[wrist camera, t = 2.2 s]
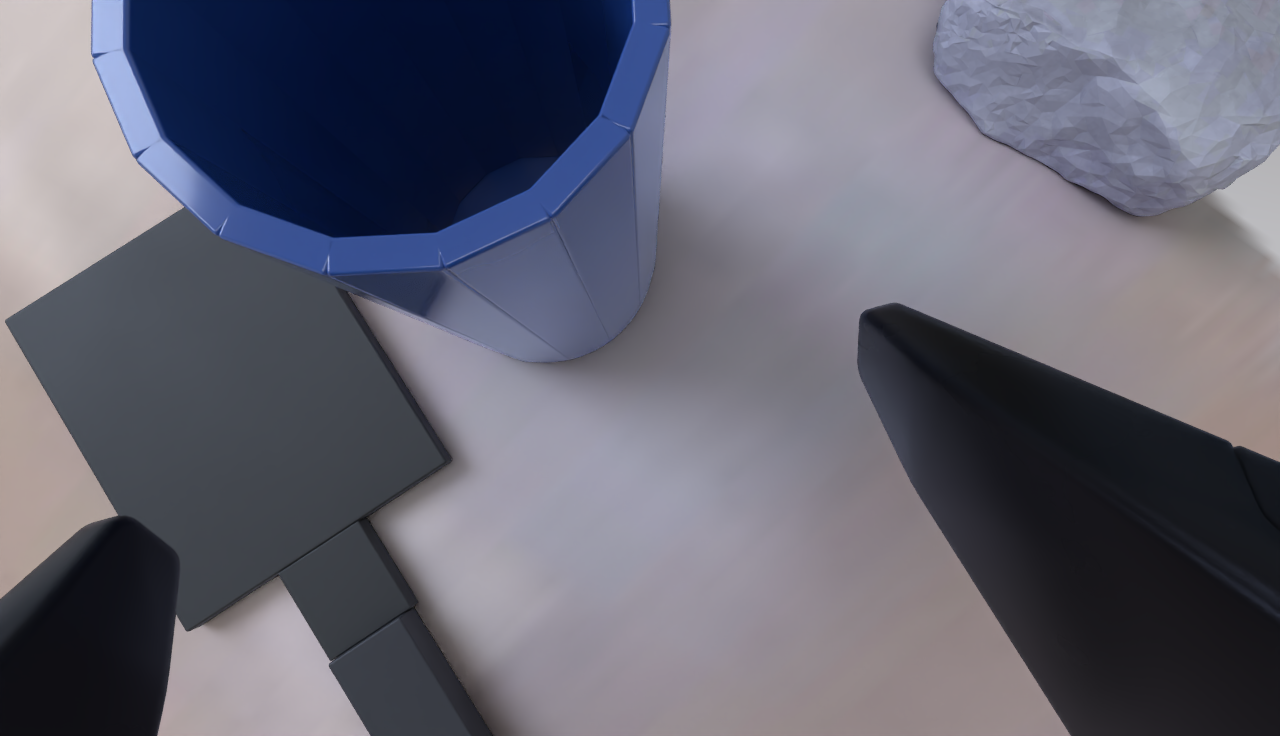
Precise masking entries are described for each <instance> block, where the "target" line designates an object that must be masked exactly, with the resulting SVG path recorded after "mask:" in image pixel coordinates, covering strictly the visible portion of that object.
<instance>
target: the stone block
mask: <svg viewBox="0 0 1280 736" xmlns="http://www.w3.org/2000/svg"><path fill="white" fill-rule="evenodd" d="M933 51H934V54H935V60H934V73H935V75H936V77H937V78H938V79H939V81H940V82H941V83H942V84H943V86H944V87H945V88H946V89H947V90H948V91H949V92H950V93H951V94H952V95H953V96H954V98H955V99H956V100H957V101H958V103H959V104H960V105H961V106H962V107H963V108H964V109H965V110H966V111H967V112H968V114H969V115H970V117H971V118H972V119H973V121H974V122H975V124H976V125H977V127H978V128H979V129H980V131H981V132H982V133H983V134H985V135H986V136H988V137H990V138H992V139H994V140H996V141H999V142H1001V143H1004V144H1007V145H1009V146H1011V147H1013V148H1015V149H1016V150H1018V151H1020V152H1022V153H1023V154H1025V155H1027V156H1030V157H1032V158H1035V159H1036V160H1038V161H1040V162H1042V163H1043V164H1045V165H1047V166H1048V167H1050V168H1052V169H1053V170H1055V171H1057V172H1058V173H1060V174H1061V175H1062V176H1063V177H1064V178H1065V179H1066V180H1068V181H1070V182H1073V183H1075V184H1078V185H1081V186H1083V187H1085V188H1086V189H1088V190H1090V191H1091V192H1094V193H1097V194H1099V195H1101V196H1103V197H1105V198H1106V199H1107V200H1108V201H1109V202H1111V203H1112V204H1113V205H1114V206H1116V207H1118V208H1120V209H1121V210H1123V211H1125V212H1127V213H1129V214H1132V215H1135V216H1154V215H1159V214H1161V213H1163V212H1166V211H1168V210H1170V209H1172V208H1178V207H1183V206H1186V205H1188V204H1191V203H1193V202H1195V201H1197V200H1199V199H1201V198H1202V197H1204V196H1206V195H1208V194H1210V193H1212V192H1213V191H1215V190H1217V189H1225V188H1226V187H1228V186H1229V185H1231V183H1233V182H1234V181H1235V180H1236V178H1238V177H1240V176H1242V175H1243V174H1245V173H1247V172H1249V171H1250V170H1252V169H1254V168H1255V167H1257V166H1258V165H1260V164H1261V163H1263V162H1264V161H1265V160H1266V159H1267V158H1268V156H1269V155H1270V154H1271V153H1272V152H1273V151H1274V150H1275V149H1276V148H1277V147H1278V145H1279V144H1280V0H947V1H946V2H945V4H944V5H943V7H942V9H941V13H940V17H939V20H938V23H937V32H936V36H935V39H934V42H933Z"/></svg>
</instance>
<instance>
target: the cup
mask: <svg viewBox="0 0 1280 736" xmlns="http://www.w3.org/2000/svg"><path fill="white" fill-rule="evenodd" d="M670 37H671V11H670V0H92V22H91V54H92V57H93V58H94V59H93V64H94V66H95V68H96V71H97V73H98V76H99V78H100V80H101V83H102V85H103V87H104V90H105V92H106V94H107V97H108V99H109V101H110V104H111V106H112V108H113V111H114V113H115V115H116V118H117V120H118V123H119V125H120V127H121V130H122V132H123V134H124V137H125V139H126V141H127V144H128V146H129V148H130V151H131V153H132V155H133V157H134V158H135V159H136V160H137V162H138V164H139V165H140V166H141V167H142V168H143V169H144V170H145V171H147V172H148V173H149V174H150V175H151V176H152V177H153V178H154V179H155V180H156V181H157V182H158V183H159V184H160V185H162V186H163V187H164V188H165V189H166V190H167V191H168V192H169V193H170V194H171V195H172V196H173V197H174V198H175V199H177V200H178V201H179V202H180V203H181V204H182V205H183V206H184V207H185V208H186V209H187V210H188V211H189V212H190V213H192V214H193V215H194V216H195V217H196V218H197V219H198V220H199V221H200V222H201V223H202V224H203V225H204V226H205V227H207V228H208V229H209V230H210V231H211V232H212V233H213V234H214V235H216V236H218V237H220V238H221V239H222V240H224V241H227V242H229V243H232V244H234V245H236V246H239V247H241V248H244V249H246V250H249V251H251V252H253V253H256V254H258V255H261V256H263V257H266V258H268V259H270V260H273V261H275V262H278V263H280V264H283V265H285V266H287V267H290V268H292V269H295V270H297V271H300V272H302V273H304V274H307V275H309V276H312V277H314V278H317V279H319V280H322V281H324V282H326V283H329V284H331V285H334V286H336V287H339V288H341V289H343V290H346V291H348V292H351V293H353V294H356V295H358V296H360V297H363V298H365V299H368V300H370V301H373V302H375V303H377V304H380V305H382V306H385V307H387V308H390V309H392V310H394V311H397V312H399V313H402V314H404V315H407V316H409V317H411V318H414V319H416V320H419V321H421V322H424V323H426V324H429V325H431V326H433V327H436V328H438V329H441V330H443V331H446V332H448V333H450V334H453V335H455V336H458V337H460V338H463V339H465V340H467V341H470V342H472V343H475V344H477V345H480V346H482V347H484V348H487V349H490V350H493V351H496V352H498V353H501V354H504V355H506V356H509V357H512V358H515V359H518V360H521V361H526V362H544V363H551V362H560V361H567V360H571V359H574V358H578V357H581V356H584V355H586V354H589V353H591V352H593V351H595V350H597V349H599V348H600V347H602V346H604V345H605V344H607V343H608V342H610V341H611V340H612V339H614V338H615V337H616V336H617V335H618V334H619V333H620V332H621V331H622V330H623V329H625V328H626V326H627V325H628V324H629V323H630V321H631V320H632V319H633V318H634V316H635V315H636V313H637V312H638V310H639V308H640V307H641V305H642V303H643V301H644V299H645V296H646V294H647V292H648V289H649V285H650V282H651V278H652V274H653V272H654V269H655V261H656V246H657V231H658V216H659V201H660V186H661V171H662V156H663V141H664V127H665V112H666V97H667V82H668V67H669V52H670Z"/></svg>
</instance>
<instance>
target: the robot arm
mask: <svg viewBox="0 0 1280 736" xmlns="http://www.w3.org/2000/svg"><path fill="white" fill-rule="evenodd" d="M857 363H858V370H859V374H860V377H861V379H862V382H863V384H864V386H865V388H866V390H867V392H868V394H869V396H870V398H871V401H872V403H873V405H874V407H875V409H876V411H877V413H878V415H879V417H880V419H881V421H882V424H883V426H884V428H885V430H886V432H887V434H888V436H889V438H890V440H891V442H892V444H893V447H894V449H895V451H896V453H897V455H898V457H899V459H900V461H901V463H902V465H903V467H904V469H905V471H906V473H907V475H908V477H909V479H910V481H911V483H912V485H913V486H914V488H915V490H916V491H917V493H918V495H919V496H920V498H921V500H922V501H923V503H924V504H925V506H926V508H927V509H928V511H929V512H930V514H931V516H932V517H933V519H934V520H935V522H936V523H937V525H938V527H939V528H940V530H941V531H942V533H943V534H944V536H945V538H946V539H947V541H948V542H949V544H950V546H951V547H952V549H953V550H954V552H955V553H956V555H957V557H958V558H959V560H960V561H961V563H962V564H963V566H964V568H965V569H966V571H967V572H968V574H969V576H970V577H971V579H972V580H973V582H974V583H975V585H976V587H977V588H978V590H979V591H980V593H981V594H982V596H983V598H984V599H985V601H986V602H987V604H988V606H989V607H990V609H991V610H992V612H993V613H994V615H995V617H996V618H997V620H998V621H999V623H1000V624H1001V626H1002V628H1003V629H1004V631H1005V632H1006V634H1007V636H1008V637H1009V639H1010V640H1011V642H1012V643H1013V645H1014V647H1015V648H1016V650H1017V651H1018V653H1019V654H1020V656H1021V658H1022V659H1023V661H1024V662H1025V664H1026V666H1027V667H1028V669H1029V670H1030V672H1031V673H1032V675H1033V677H1034V678H1035V680H1036V681H1037V683H1038V684H1039V686H1040V688H1041V689H1042V691H1043V692H1044V694H1045V695H1046V697H1047V699H1048V700H1049V702H1050V703H1051V705H1052V707H1053V708H1054V710H1055V711H1056V713H1057V714H1058V716H1059V718H1060V719H1061V721H1062V722H1063V724H1064V725H1065V727H1066V729H1067V730H1068V732H1069V733H1070V735H1071V736H1280V462H1278V461H1275V460H1273V459H1270V458H1268V457H1266V456H1263V455H1261V454H1259V453H1256V452H1254V451H1251V450H1249V449H1247V448H1244V447H1241V446H1237V447H1234V448H1233V446H1232V444H1231V443H1230V442H1229V441H1227V440H1224V439H1222V438H1220V437H1217V436H1215V435H1212V434H1210V433H1208V432H1205V431H1203V430H1201V429H1198V428H1196V427H1193V426H1191V425H1189V424H1186V423H1184V422H1181V421H1179V420H1177V419H1174V418H1172V417H1169V416H1167V415H1165V414H1162V413H1160V412H1158V411H1155V410H1153V409H1150V408H1148V407H1146V406H1143V405H1141V404H1138V403H1136V402H1134V401H1131V400H1129V399H1126V398H1124V397H1122V396H1119V395H1117V394H1115V393H1112V392H1110V391H1107V390H1105V389H1103V388H1100V387H1098V386H1095V385H1093V384H1091V383H1088V382H1086V381H1083V380H1081V379H1079V378H1076V377H1074V376H1071V375H1069V374H1067V373H1064V372H1062V371H1060V370H1057V369H1055V368H1052V367H1050V366H1048V365H1045V364H1043V363H1040V362H1038V361H1036V360H1033V359H1031V358H1028V357H1026V356H1024V355H1021V354H1019V353H1017V352H1014V351H1012V350H1009V349H1007V348H1005V347H1002V346H1000V345H997V344H995V343H993V342H990V341H988V340H985V339H983V338H981V337H978V336H976V335H974V334H971V333H969V332H966V331H964V330H962V329H959V328H957V327H954V326H952V325H950V324H947V323H945V322H942V321H940V320H938V319H935V318H933V317H931V316H928V315H926V314H923V313H921V312H919V311H916V310H914V309H911V308H909V307H907V306H904V305H902V304H898V303H889V304H886V305H882V306H878V307H875V308H871V309H867V310H865V311H864V312H863V313H862V314H861V316H860V320H859V336H858V358H857ZM180 573H181V564H180V559H179V557H178V554H177V553H176V551H175V550H174V549H173V548H172V547H171V546H169V545H168V544H167V543H166V542H164V541H163V540H162V539H161V538H159V537H158V536H157V535H156V534H154V533H153V532H152V531H151V530H149V529H148V528H147V527H146V526H144V525H143V524H142V523H141V522H139V521H138V520H136V519H135V518H133V517H130V516H126V515H124V516H115V517H112V518H108V519H104V520H101V521H97V522H93V523H91V524H88V525H86V526H85V527H83V528H81V529H80V530H79V531H78V532H77V533H75V534H74V535H73V536H72V537H71V538H70V539H69V540H67V541H66V542H65V543H64V544H63V545H62V546H61V547H59V548H58V549H57V550H56V551H55V552H54V553H53V554H51V555H50V556H49V557H48V558H47V559H46V560H45V561H43V562H42V563H41V564H40V565H39V566H38V567H37V568H35V569H34V570H33V571H32V572H31V573H30V574H29V575H27V576H26V577H25V578H24V579H23V580H22V581H21V582H19V583H18V584H17V585H16V586H15V587H14V588H13V589H11V590H10V591H9V592H8V593H7V594H6V595H5V596H3V597H2V598H1V599H0V736H157V734H158V730H159V725H160V721H161V716H162V712H163V707H164V702H165V696H166V691H167V685H168V677H169V670H170V662H171V653H172V644H173V635H174V626H175V617H176V609H177V600H178V591H179V582H180Z"/></svg>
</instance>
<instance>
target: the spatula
mask: <svg viewBox="0 0 1280 736" xmlns="http://www.w3.org/2000/svg"><path fill="white" fill-rule="evenodd" d="M5 323H6V324H7V326H8V328H9V330H10V331H11V333H12V335H13V336H14V338H15V340H16V341H17V343H18V345H19V347H20V348H21V350H22V352H23V353H24V355H25V357H26V359H27V360H28V362H29V364H30V365H31V367H32V369H33V370H34V372H35V374H36V376H37V377H38V379H39V381H40V382H41V384H42V386H43V388H44V389H45V391H46V393H47V394H48V396H49V398H50V399H51V401H52V403H53V405H54V406H55V408H56V410H57V411H58V413H59V415H60V417H61V418H62V420H63V422H64V423H65V425H66V427H67V429H68V430H69V432H70V434H71V435H72V437H73V439H74V440H75V442H76V444H77V446H78V447H79V449H80V451H81V452H82V454H83V456H84V458H85V459H86V461H87V463H88V464H89V466H90V468H91V469H92V471H93V473H94V475H95V476H96V478H97V480H98V481H99V483H100V485H101V487H102V488H103V490H104V492H105V493H106V495H107V497H108V499H109V500H110V502H111V504H112V505H113V507H114V509H115V510H116V512H117V514H118V516H124V515H126V516H130V517H133V518H135V519H136V520H138V521H139V522H141V523H142V524H143V525H144V526H146V527H147V528H148V529H149V530H151V531H152V532H153V533H154V534H156V535H157V536H158V537H159V538H161V539H162V540H163V541H164V542H166V543H167V544H168V545H169V546H171V547H172V548H173V549H174V550H175V551H176V553H177V554H178V557H179V559H180V564H181V573H180V582H179V591H178V600H177V609H176V615H177V616H178V618H179V620H180V621H181V623H182V625H183V627H184V628H185V630H186V631H191V630H193V629H195V628H197V627H199V626H201V625H203V624H204V623H206V622H207V621H209V620H210V619H212V618H213V617H215V616H216V615H218V614H220V613H221V612H223V611H224V610H226V609H227V608H229V607H230V606H232V605H233V604H235V603H236V602H238V601H239V600H241V599H242V598H244V597H245V596H247V595H249V594H250V593H252V592H253V591H255V590H256V589H258V588H259V587H261V586H262V585H264V584H265V583H267V582H268V581H270V580H271V579H273V578H274V577H276V576H277V575H279V576H280V578H281V580H282V581H283V583H284V585H285V586H286V588H287V590H288V591H289V593H290V595H291V596H292V598H293V600H294V601H295V603H296V605H297V606H298V608H299V610H300V611H301V613H302V615H303V616H304V618H305V620H306V621H307V623H308V625H309V626H310V628H311V630H312V631H313V633H314V635H315V636H316V638H317V640H318V641H319V643H320V645H321V646H322V648H323V650H324V651H325V653H326V655H327V656H328V658H329V660H330V661H331V660H333V661H332V662H331V663H330V664H329V667H330V669H331V670H332V672H333V674H334V675H335V677H336V679H337V680H338V682H339V684H340V685H341V687H342V689H343V690H344V692H345V694H346V695H347V697H348V699H349V700H350V702H351V704H352V705H353V707H354V709H355V710H356V712H357V714H358V715H359V717H360V719H361V720H362V722H363V724H364V725H365V727H366V729H367V730H368V732H369V734H370V735H371V736H493V735H492V734H491V732H490V731H489V729H488V727H487V726H486V724H485V722H484V721H483V719H482V718H481V716H480V714H479V713H478V711H477V709H476V708H475V706H474V705H473V703H472V701H471V700H470V698H469V696H468V695H467V693H466V692H465V690H464V688H463V687H462V685H461V683H460V682H459V680H458V679H457V677H456V675H455V674H454V672H453V670H452V669H451V667H450V665H449V664H448V662H447V661H446V659H445V657H444V656H443V654H442V652H441V651H440V649H439V648H438V646H437V644H436V643H435V641H434V639H433V638H432V636H431V635H430V633H429V631H428V630H427V628H426V626H425V625H424V623H423V622H422V620H421V618H420V617H419V615H418V613H417V612H416V610H415V609H414V607H413V606H414V605H416V604H417V603H418V601H417V599H416V597H415V596H414V594H413V592H412V591H411V589H410V588H409V586H408V584H407V583H406V581H405V579H404V578H403V576H402V575H401V573H400V571H399V570H398V568H397V566H396V565H395V563H394V562H393V560H392V558H391V557H390V555H389V553H388V552H387V550H386V549H385V547H384V545H383V544H382V542H381V540H380V539H379V537H378V536H377V534H376V532H375V531H374V529H373V527H372V526H371V524H370V523H369V521H368V519H367V518H366V517H368V516H369V515H371V514H372V513H374V512H375V511H377V510H378V509H380V508H381V507H383V506H384V505H386V504H387V503H389V502H390V501H392V500H393V499H395V498H397V497H398V496H400V495H401V494H403V493H404V492H406V491H407V490H409V489H410V488H412V487H413V486H415V485H416V484H418V483H419V482H421V481H422V480H424V479H426V478H427V477H429V476H430V475H432V474H433V473H435V472H436V471H438V470H439V469H441V468H442V467H444V466H445V465H447V464H448V463H450V462H451V461H452V460H451V457H450V456H449V454H448V453H447V451H446V449H445V448H444V446H443V445H442V443H441V441H440V440H439V438H438V437H437V435H436V434H435V432H434V430H433V429H432V427H431V426H430V424H429V422H428V421H427V419H426V418H425V416H424V414H423V413H422V411H421V410H420V408H419V407H418V405H417V403H416V402H415V400H414V399H413V397H412V395H411V394H410V392H409V391H408V389H407V388H406V386H405V384H404V383H403V381H402V380H401V378H400V376H399V375H398V373H397V372H396V370H395V368H394V367H393V365H392V364H391V362H390V361H389V359H388V357H387V356H386V354H385V353H384V351H383V349H382V348H381V346H380V345H379V343H378V341H377V340H376V338H375V337H374V335H373V334H372V332H371V330H370V329H369V327H368V326H367V324H366V322H365V321H364V319H363V318H362V316H361V315H360V313H359V311H358V310H357V308H356V307H355V305H354V303H353V302H352V300H351V299H350V297H349V295H348V294H347V292H346V291H345V290H343V289H341V288H339V287H336V286H334V285H331V284H329V283H326V282H324V281H322V280H319V279H317V278H314V277H312V276H309V275H307V274H304V273H302V272H300V271H297V270H295V269H292V268H290V267H287V266H285V265H283V264H280V263H278V262H275V261H273V260H270V259H268V258H266V257H263V256H261V255H258V254H256V253H253V252H251V251H249V250H246V249H244V248H241V247H239V246H236V245H234V244H232V243H229V242H227V241H224V240H222V239H221V238H220V237H218V236H216V235H214V234H213V233H212V232H211V231H210V230H209V229H208V228H207V227H205V226H204V225H203V224H202V223H201V222H200V221H199V220H198V219H197V218H196V217H195V216H194V215H193V214H192V213H190V212H189V211H188V210H187V209H186V208H185V207H184V208H182V209H181V210H179V211H178V212H176V213H174V214H173V215H171V216H170V217H168V218H167V219H165V220H163V221H162V222H160V223H159V224H157V225H155V226H154V227H152V228H151V229H149V230H147V231H146V232H144V233H143V234H141V235H140V236H138V237H136V238H135V239H133V240H132V241H130V242H128V243H127V244H125V245H124V246H122V247H120V248H119V249H117V250H116V251H114V252H113V253H111V254H109V255H108V256H106V257H105V258H103V259H101V260H100V261H98V262H97V263H95V264H93V265H92V266H90V267H89V268H87V269H86V270H84V271H82V272H81V273H79V274H78V275H76V276H74V277H73V278H71V279H70V280H68V281H66V282H65V283H63V284H62V285H60V286H59V287H57V288H55V289H54V290H52V291H51V292H49V293H47V294H46V295H44V296H43V297H41V298H39V299H38V300H36V301H35V302H33V303H32V304H30V305H28V306H27V307H25V308H24V309H22V310H20V311H19V312H17V313H16V314H14V315H12V316H11V317H9V318H8V319H6V320H5ZM364 518H365V519H364ZM335 658H336V659H335ZM334 659H335V660H334Z"/></svg>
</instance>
